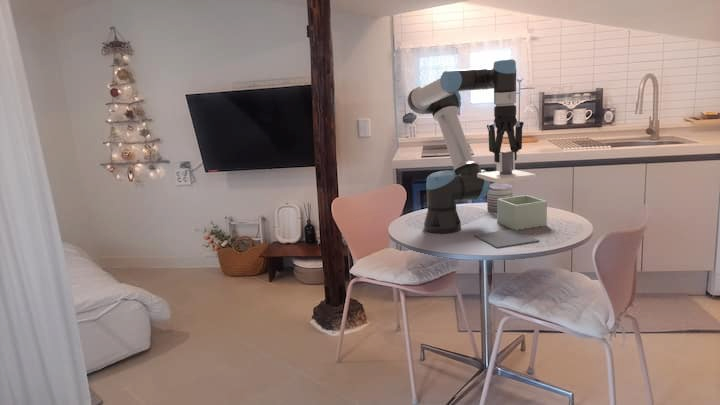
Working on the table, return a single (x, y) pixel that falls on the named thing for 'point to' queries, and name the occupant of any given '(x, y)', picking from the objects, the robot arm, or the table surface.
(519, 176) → the lid
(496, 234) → the mat
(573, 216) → the table surface
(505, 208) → the box
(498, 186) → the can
